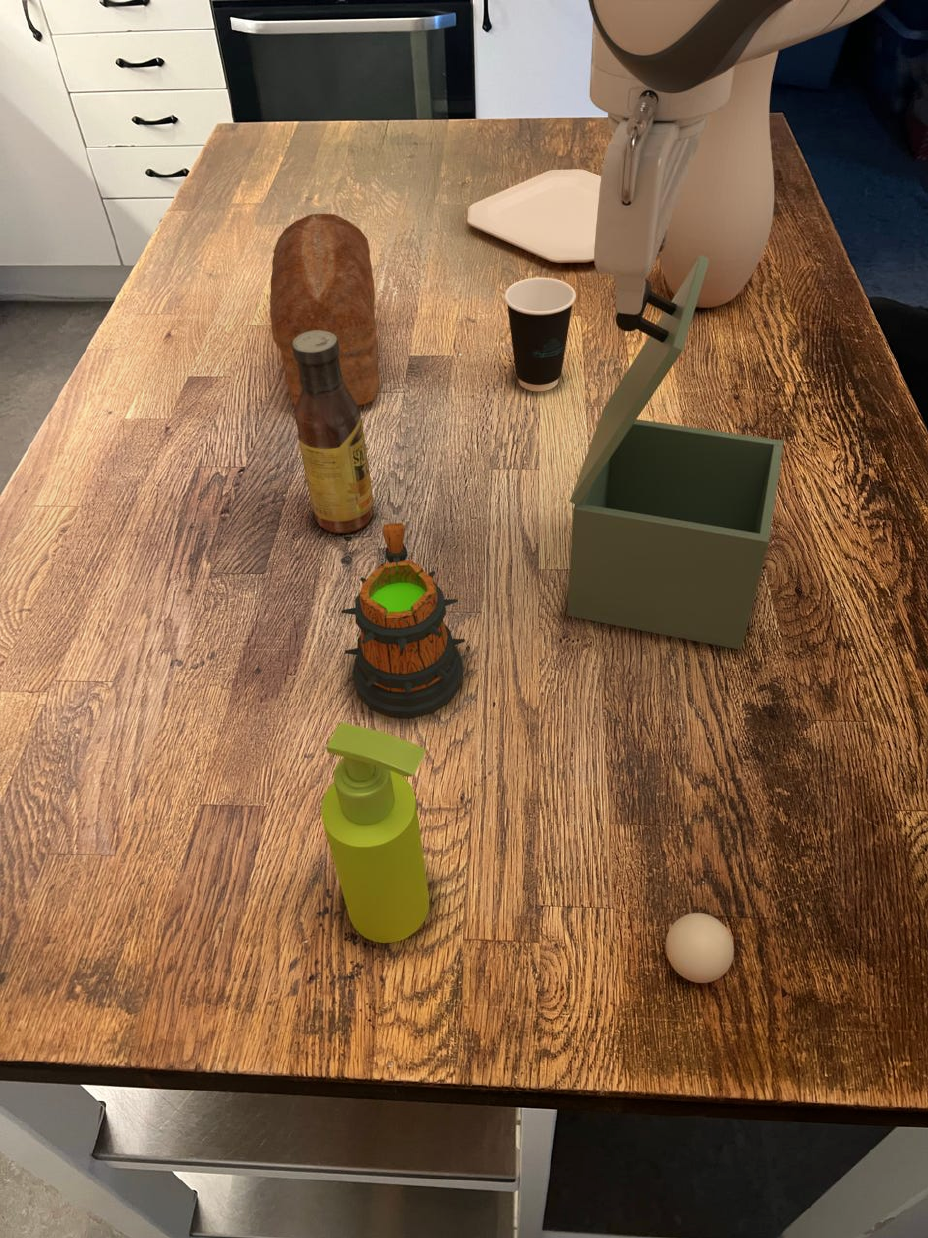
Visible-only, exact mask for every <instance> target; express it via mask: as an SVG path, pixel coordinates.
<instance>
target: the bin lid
mask: <svg viewBox="0 0 928 1238" xmlns="http://www.w3.org/2000/svg"><path fill="white" fill-rule="evenodd" d="M708 263H709V259H708V258H706V257H704V256H702V255H700V257H699V258H698V260H697V262H696V263H695V265H694V266H693V268H692V269H691V271H690V273H689V274H688V276H687V277H686V279H685V281H684V282H683V284H682V285H681V287H680V288H679V290H678V292H677V293H676V295H674V296H673V298H672V300H669V299H667V298H666V297H663V296H662V295H660V294H658V293H656V292H655V291H653V287H652V284H651V282H650V280H648V279H647V278H646V279H645V281H646V290H645V299H644V303H643V306H642V309H641V311H640V313H638V314H636V315H633V314H624V313H619V312H618V311H617V314H616V316H615V324H616V326H617V327H618V328H619V330H621V331H624V332H629V333H630V332H634V331H636V330H638V331H640V332H641V333H643V334H645V335H647V336H648V338H647V339H646V340H645V342H644V344H643V345H642V347H641V348H640V350H639V352H638V353H637V355H636V357H635V358H634V360H633V361H632V363H631V365H630V366H629V368H628V369H627V370H626V372H625V374H624V375H623V377H622V378H621V380H620V382H619V383H618V385H617V387H616V389H615V390H614V391H613V392H612V395H610V397H609V400H607V403H606V404H605V405H604V406H603V410H602V412H601V415H600V418H599V420H598V423H597V426H596V429H595V432H594V434H593V438H592V439H591V442H590V445H589V447H588V450H587V453H586V455H585V458H584V461H583V463H582V466H581V469H580V472H579V474H578V477H577V480H576V482H575V485H574V488H573V491H572V494H571V496H570V499H569V502H570V503H571V504H573V505H577V506H578V505H579V504H580V502H581V501H582V499H583V498H584V496H585V495H586V493H587V492H588V490H589V489H590V487H591V486H592V484H593V483H594V481H595V480H596V478H597V477H598V475H599V474H600V472H601V471H602V469H603V468H604V467H605V465H606V464H607V462H608V461H609V459H610V458H611V456H612V455H613V453H614V452H615V450H616V449H617V447H618V446H619V444H620V443H621V441H622V440H623V438H624V437H625V435H626V434H627V432H628V431H629V430H630V428H631V427H632V425H633V424H634V422H635V421H636V419H638V418H639V416H640V415H641V413H642V412H643V410H644V409H645V408H646V406H647V404H648V403H649V401H650V400H651V398H652V397H653V395H654V394H655V393H656V391H657V389H658V388H659V387H660V385H661V384H662V382H663V381H664V379H665V378H666V376H667V375H668V374H669V372H670V370H671V369H672V367H674V364H675V363H676V361H678V359H679V357H680V356H681V354H682V353H683V351H684V347H685V344H686V341H687V337H688V334H689V330H690V328H691V325H692V321H693V320H692V319H693V317H694V314H695V311H696V308H697V307H696V304H697V300H698V297H699V294H700V290H701V287H702V283H703V280H704V277H705V273H706V270H707V266H708ZM648 304H649V305H650V306H652V307H653V308H656V309H658V310H659V311H662V312H663V314H662V315H661V317H660V319H659V320H658V322H657V324H656V323H654V322H652V321H650V320H649V319H646V318H645V317H643V316H644V313H645V310H646V308H647V306H648Z"/></svg>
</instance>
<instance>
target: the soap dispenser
mask: <svg viewBox="0 0 928 1238" xmlns="http://www.w3.org/2000/svg"><path fill="white" fill-rule="evenodd" d="M325 748H326V753H327V754H330V755H335V756H339V757H342V758H341V759H340V760H339V761H338V762H337V764H336V766H335V768H334V771H333V782H332V783H331V784H330V785H329V786H328V788H327V790H326V791H325V793H324V796H323V798H322V801H321V805H320V806H321V807H320V815H321V816H320V817H321V820H322V824H323V827H324V832H325V835H326V839H327V842H328V847H329V849H330V853H331V856H332V860H333V864H334V867H335V871H336V876H337V878H338V881H339V885H340V890H341V893H342V897H343V899H344V903H345V904H344V905H345V907H346V911H347V915H348V918H349V920H350V921H349V922H350V923H351V925H352V927H353V928H354V930H355V931H356V932H357V933H358V934H360V936H362V937H363V938H365V939H367V940H369V941H371V942H375V943H380V944H392V943H397V942H401V941H403V940H405V939H407V938H410V937H411V936H413V935H414V934H415V933H416V932H417V931H418V930H420V928H421V927H422V926H423V924H424V922H425V920H427V916H428V915H429V910H430V903H431V902H430V894H429V893H430V892H429V885H428V878H427V871H426V864H425V857H424V851H423V850H424V849H423V844H422V837H421V830H420V829H421V828H420V821H419V815H418V807H417V800H416V795H415V792H414V789H413V787H412V785H411V783H410V782H409V780H407V779H406V778H410V777H413V776H414V775H415V774H416V772H417V770H418V768H419V766H420V764H421V762H422V760H423V757H424V755H425V753H426V749H425V748H424V747H422V746H420V745H418V744H415V743H413V742H410V741H408V740H406V739H403V738H401V737H399V736H396V735H392V734H390V733H386V732H383V731H380V730H376V729H372V728H369V727H365V726H359V725H356V724H351V723H346V722H341V721H340V722H339V724H338V725H337V727H336V729H335V731H334V732H333V734H332V736H331V738H330V739H329V741H328V744H327V745H326V747H325Z"/></svg>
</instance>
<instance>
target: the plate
mask: <svg viewBox="0 0 928 1238" xmlns="http://www.w3.org/2000/svg"><path fill="white" fill-rule="evenodd" d="M600 183H601V175H598V174H596V173H593V172H590V171H588V170H585V169H577V168H576V169H550V170H547V171H544V172H543V173H540V174H538V175H535V176H533V177H531V178H529V179H526V180H524V181H522V182H520V183H517V184H515V185H513V186H510V187H508V188H506V189H504V190H502V191H499V192H497V193H494V194H492V195H490V196H488V197H485V198H483V199H481V200H478V201H476V202H474V203H472V204H470V205H469V207H468V209H467V218H466V219H467V220H466V222H467V224H468V225H469V226H470V227H473V228H475V229H477V230H479V231H482V232H484V233H486V234H488V235H490V236H493V237H495V238H497V239H500V240H501V241H503V242H507V243H509V244H511V245H513V246H515V247H517V248H519V249H522V250H524V251H526V252H528V253H531V254H533V255H535V256H537V257H540V258H542V259H544V260H547V261H548V262H551V263H557V264H574V263H576V264H577V263H579V264H581V263H582V264H583V263H590V262H595V261H594V247H595V235H596V223H597V212H598V202H599V191H600Z"/></svg>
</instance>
